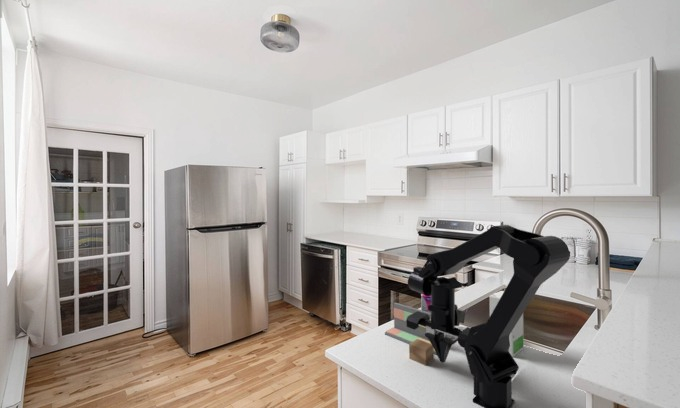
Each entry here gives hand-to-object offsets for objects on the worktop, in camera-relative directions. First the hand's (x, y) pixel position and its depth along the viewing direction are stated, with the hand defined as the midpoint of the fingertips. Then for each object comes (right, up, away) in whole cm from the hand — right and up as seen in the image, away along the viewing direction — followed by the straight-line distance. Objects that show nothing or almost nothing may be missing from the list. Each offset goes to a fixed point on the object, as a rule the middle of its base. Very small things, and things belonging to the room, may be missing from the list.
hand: (442, 361), depth 79 cm
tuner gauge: (-4, -1, +15) cm, 15 cm away
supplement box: (+4, -1, +25) cm, 25 cm away
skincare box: (+21, -1, +10) cm, 23 cm away
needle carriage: (-4, -2, +5) cm, 6 cm away
